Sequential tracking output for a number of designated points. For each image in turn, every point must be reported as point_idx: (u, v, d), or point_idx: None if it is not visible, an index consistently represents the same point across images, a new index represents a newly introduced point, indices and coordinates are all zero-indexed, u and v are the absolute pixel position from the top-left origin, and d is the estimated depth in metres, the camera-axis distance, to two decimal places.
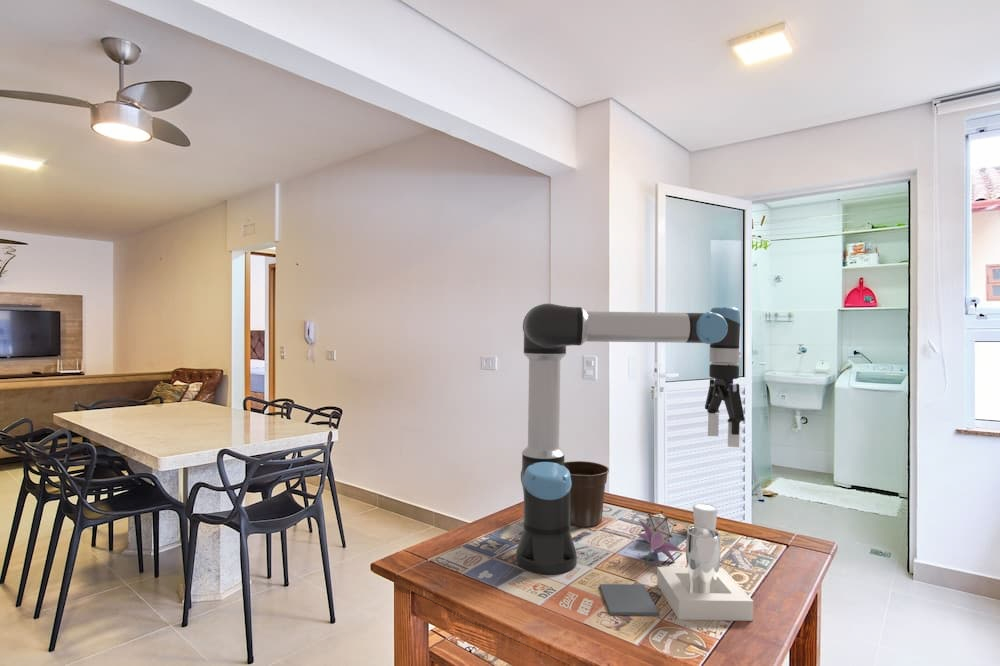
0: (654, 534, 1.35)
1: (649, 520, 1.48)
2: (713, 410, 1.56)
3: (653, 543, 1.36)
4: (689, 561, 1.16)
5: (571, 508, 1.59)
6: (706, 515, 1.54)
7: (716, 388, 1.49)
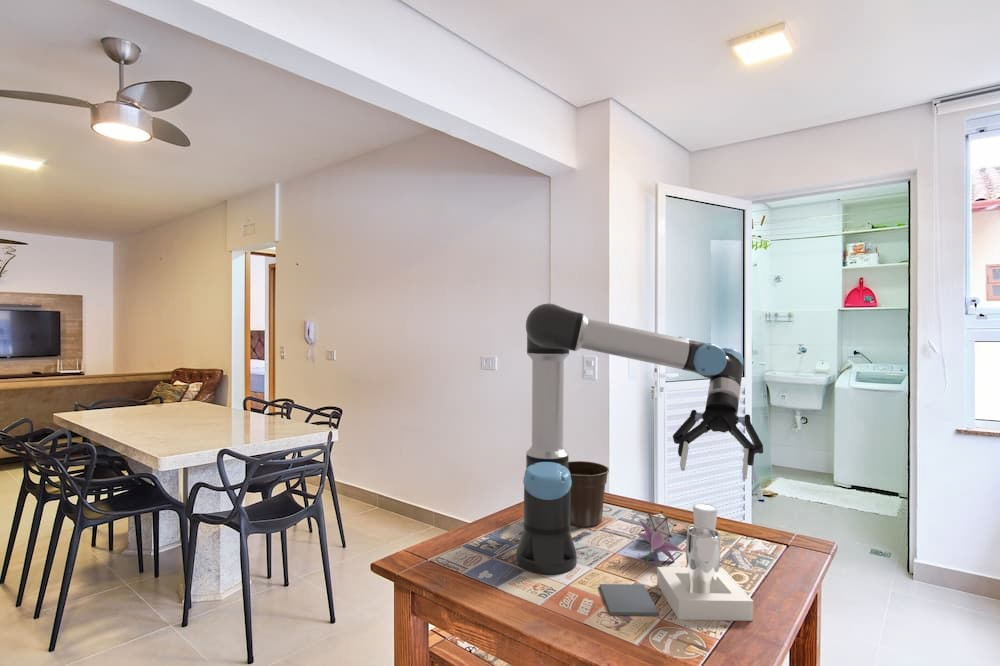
0: (654, 534, 1.35)
1: (649, 520, 1.48)
2: (685, 442, 1.34)
3: (653, 543, 1.36)
4: (689, 561, 1.16)
5: (571, 508, 1.59)
6: (706, 515, 1.54)
7: (715, 417, 1.34)
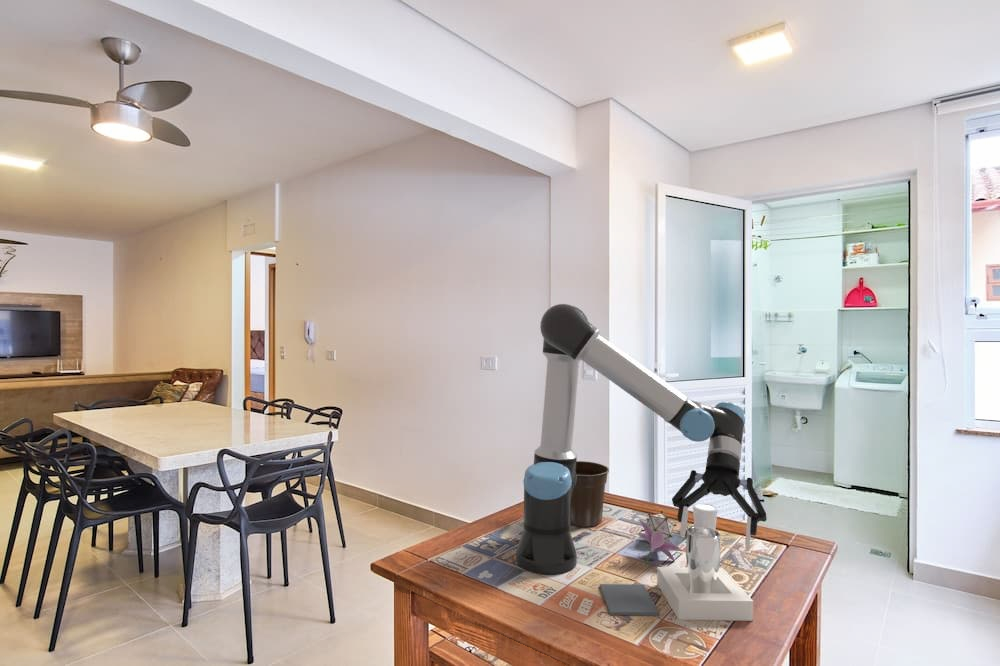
0: (654, 534, 1.35)
1: (649, 520, 1.48)
2: (685, 506, 1.28)
3: (653, 542, 1.36)
4: (689, 561, 1.16)
5: (571, 508, 1.59)
6: (706, 515, 1.54)
7: (715, 480, 1.28)
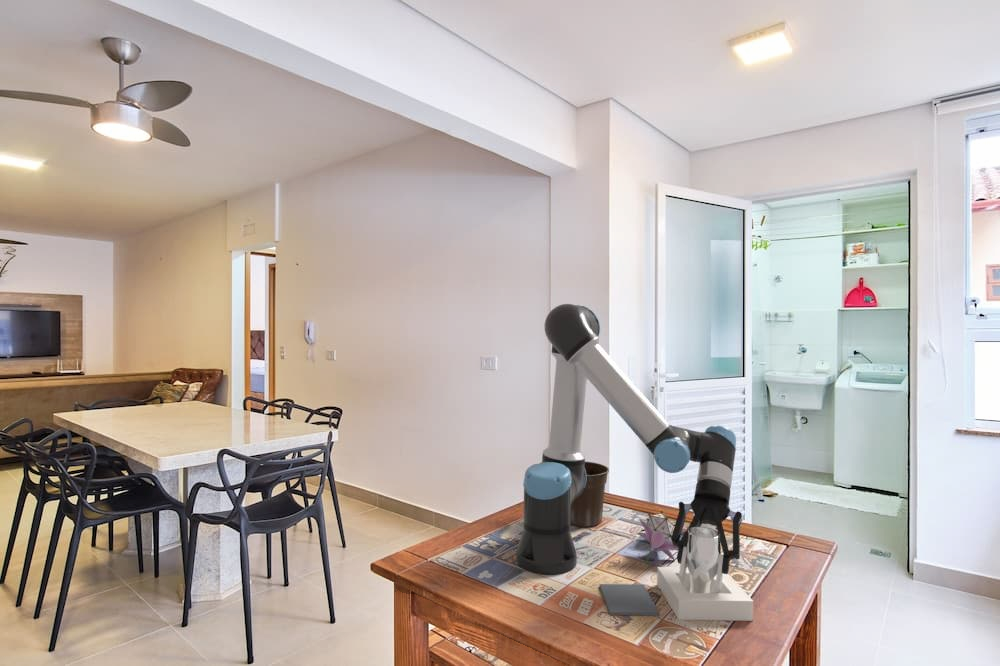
0: (654, 533, 1.36)
1: (649, 520, 1.48)
2: (685, 545, 1.20)
3: (654, 542, 1.36)
4: (689, 561, 1.16)
5: (571, 508, 1.59)
6: None
7: (705, 508, 1.23)
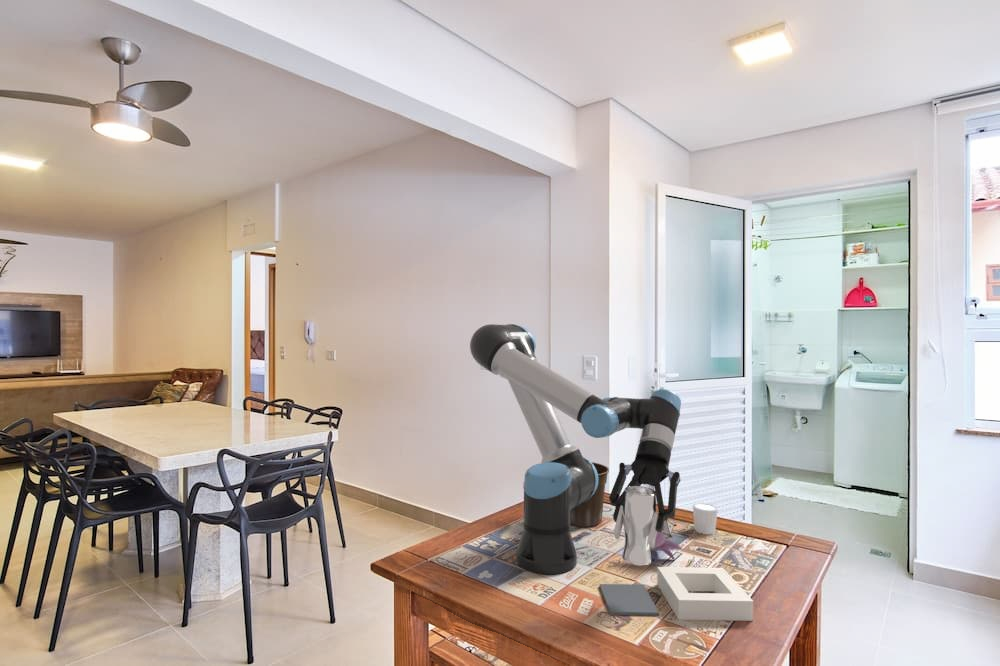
0: None
1: None
2: (622, 504, 1.20)
3: None
4: (624, 519, 1.15)
5: None
6: (706, 515, 1.54)
7: (644, 468, 1.22)
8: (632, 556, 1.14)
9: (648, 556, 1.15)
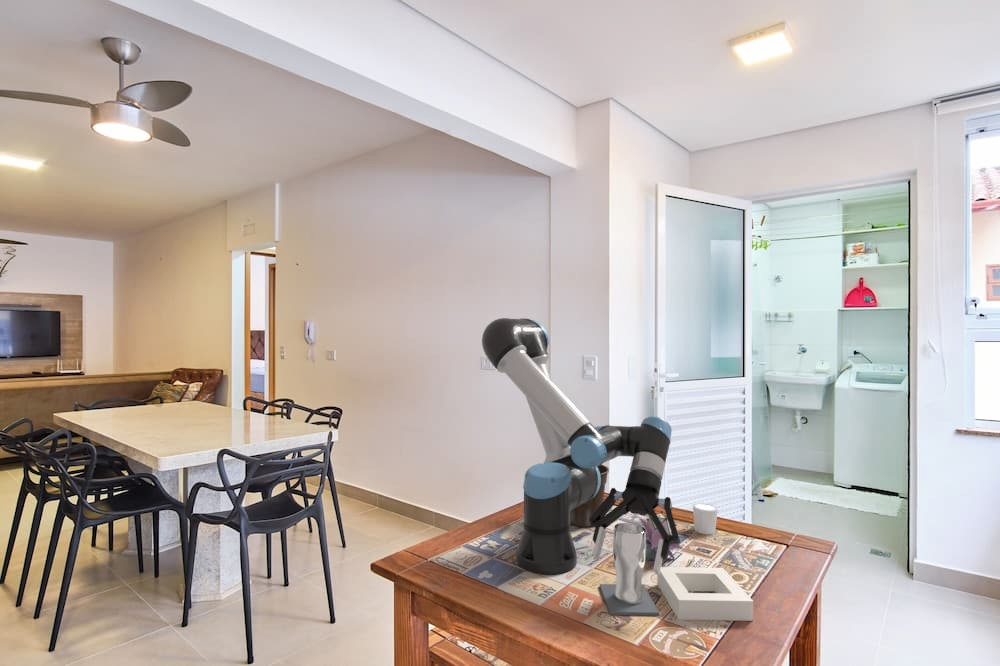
0: (655, 532, 1.36)
1: (649, 520, 1.48)
2: (602, 526, 1.22)
3: (654, 541, 1.37)
4: (615, 557, 1.16)
5: None
6: (706, 515, 1.54)
7: (634, 498, 1.23)
8: (623, 595, 1.14)
9: (639, 594, 1.14)
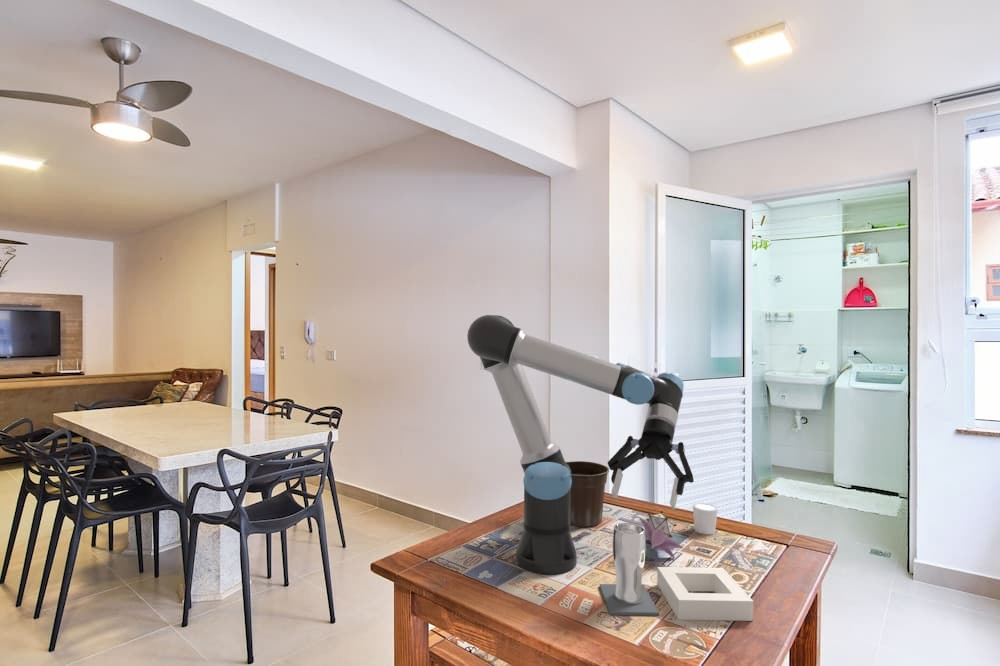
0: (655, 531, 1.37)
1: (649, 520, 1.48)
2: (619, 469, 1.34)
3: (654, 540, 1.37)
4: (614, 557, 1.16)
5: (571, 508, 1.59)
6: (706, 515, 1.54)
7: (649, 444, 1.34)
8: (623, 595, 1.14)
9: (639, 595, 1.14)
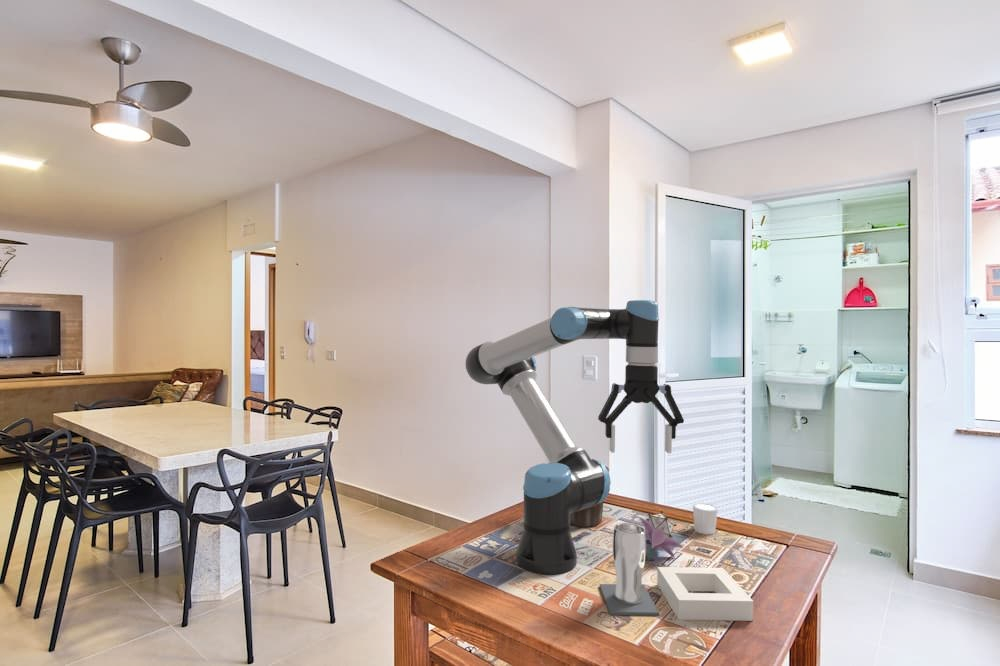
0: (655, 531, 1.37)
1: (649, 520, 1.48)
2: None
3: (654, 540, 1.38)
4: (615, 557, 1.16)
5: None
6: (706, 515, 1.54)
7: None
8: (623, 595, 1.14)
9: (639, 595, 1.14)
